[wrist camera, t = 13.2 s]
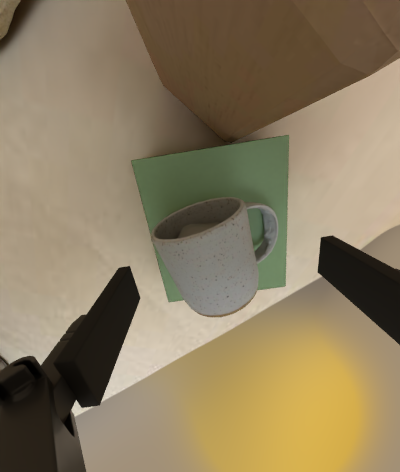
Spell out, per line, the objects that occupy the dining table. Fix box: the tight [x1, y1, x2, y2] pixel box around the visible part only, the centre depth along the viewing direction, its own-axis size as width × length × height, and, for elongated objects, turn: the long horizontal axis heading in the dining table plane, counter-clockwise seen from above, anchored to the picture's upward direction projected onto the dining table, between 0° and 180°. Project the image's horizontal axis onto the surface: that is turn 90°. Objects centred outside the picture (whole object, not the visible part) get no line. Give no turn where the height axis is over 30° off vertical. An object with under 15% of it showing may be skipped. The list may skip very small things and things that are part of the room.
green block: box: [131, 135, 289, 302], centre depth 22 cm, size 14×16×6 cm
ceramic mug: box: [151, 197, 278, 317], centre depth 16 cm, size 11×8×8 cm
